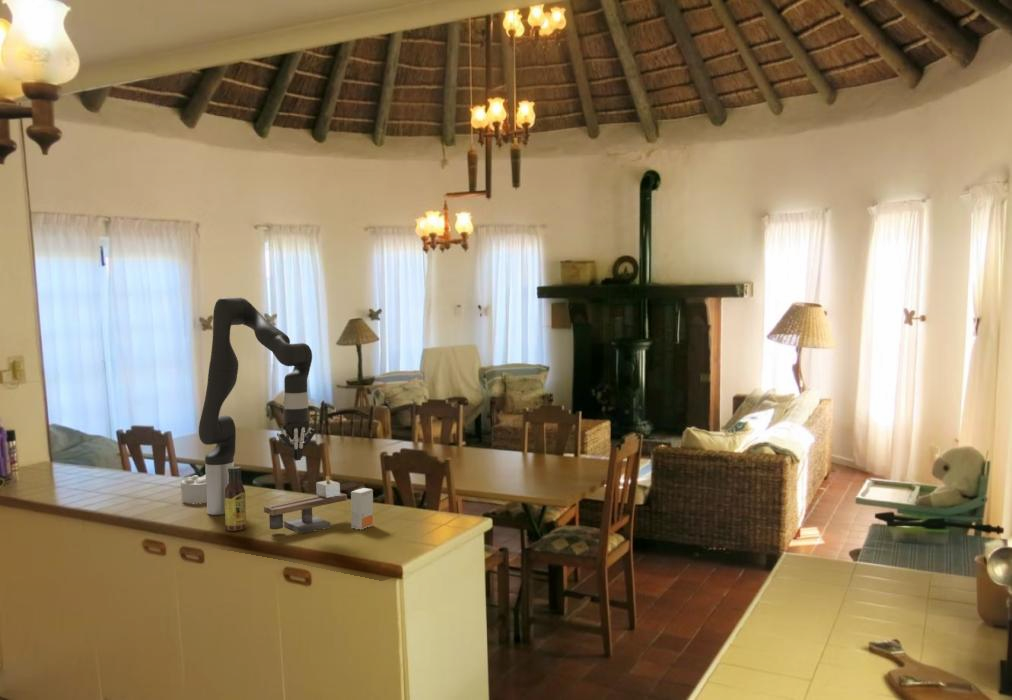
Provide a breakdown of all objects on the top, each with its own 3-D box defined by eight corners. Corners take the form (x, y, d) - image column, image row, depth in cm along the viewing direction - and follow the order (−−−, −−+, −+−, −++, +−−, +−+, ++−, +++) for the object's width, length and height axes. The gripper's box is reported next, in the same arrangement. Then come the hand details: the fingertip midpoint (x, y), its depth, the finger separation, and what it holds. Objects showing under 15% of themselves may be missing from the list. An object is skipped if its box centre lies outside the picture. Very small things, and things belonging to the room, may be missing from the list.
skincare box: (361, 530, 239) (360, 493, 238) (351, 528, 241) (350, 491, 241) (374, 525, 244) (373, 489, 244) (364, 523, 246) (363, 487, 246)
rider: (316, 499, 249) (316, 476, 249) (330, 497, 253) (329, 474, 252) (326, 503, 245) (325, 479, 244) (340, 500, 248) (339, 477, 248)
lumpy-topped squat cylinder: (199, 505, 272) (198, 481, 272) (174, 501, 278) (173, 478, 278) (221, 498, 282) (221, 475, 281) (196, 494, 288) (196, 472, 287)
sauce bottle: (239, 532, 238) (237, 470, 237) (221, 531, 240) (219, 469, 238) (250, 526, 245) (248, 465, 244) (232, 525, 246) (230, 465, 245)
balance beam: (260, 531, 239) (259, 504, 239) (333, 515, 257) (332, 489, 257) (278, 539, 231) (277, 511, 230) (352, 522, 248) (351, 496, 248)
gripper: (309, 403, 248) (310, 455, 249) (271, 406, 239) (272, 461, 240) (320, 405, 243) (321, 459, 244) (282, 409, 234) (283, 465, 235)
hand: (297, 460), depth 242 cm, fingers closed
